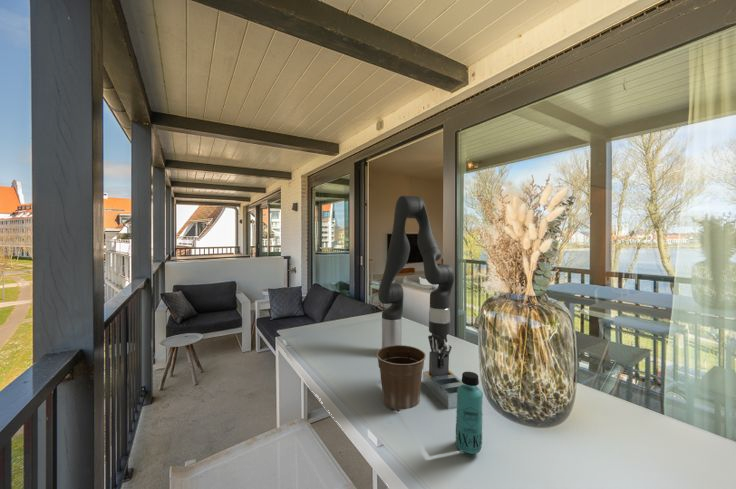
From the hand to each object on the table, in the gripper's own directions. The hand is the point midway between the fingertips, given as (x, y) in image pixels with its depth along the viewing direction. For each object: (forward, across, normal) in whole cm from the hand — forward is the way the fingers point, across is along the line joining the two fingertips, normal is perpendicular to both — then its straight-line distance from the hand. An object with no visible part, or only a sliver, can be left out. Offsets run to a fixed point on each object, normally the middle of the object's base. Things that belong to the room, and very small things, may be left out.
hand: (439, 366), depth 110 cm
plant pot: (+8, +6, -17) cm, 20 cm away
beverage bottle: (+8, +32, -9) cm, 34 cm away
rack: (+8, +6, 0) cm, 10 cm away
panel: (+4, 0, 0) cm, 4 cm away
